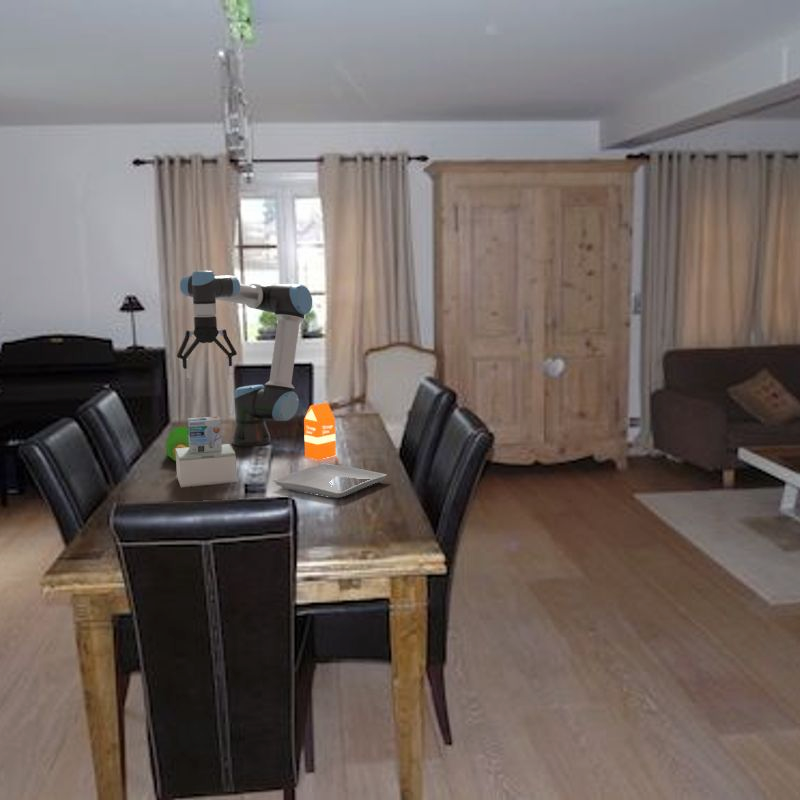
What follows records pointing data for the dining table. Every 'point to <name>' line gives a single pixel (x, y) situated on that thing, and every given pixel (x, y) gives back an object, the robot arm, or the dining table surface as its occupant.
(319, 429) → the orange juice
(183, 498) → the dining table surface
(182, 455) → the box lid
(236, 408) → the robot arm
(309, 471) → the square plate
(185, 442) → the decorative tree
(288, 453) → the dining table surface
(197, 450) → the light bulb box
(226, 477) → the beige box
